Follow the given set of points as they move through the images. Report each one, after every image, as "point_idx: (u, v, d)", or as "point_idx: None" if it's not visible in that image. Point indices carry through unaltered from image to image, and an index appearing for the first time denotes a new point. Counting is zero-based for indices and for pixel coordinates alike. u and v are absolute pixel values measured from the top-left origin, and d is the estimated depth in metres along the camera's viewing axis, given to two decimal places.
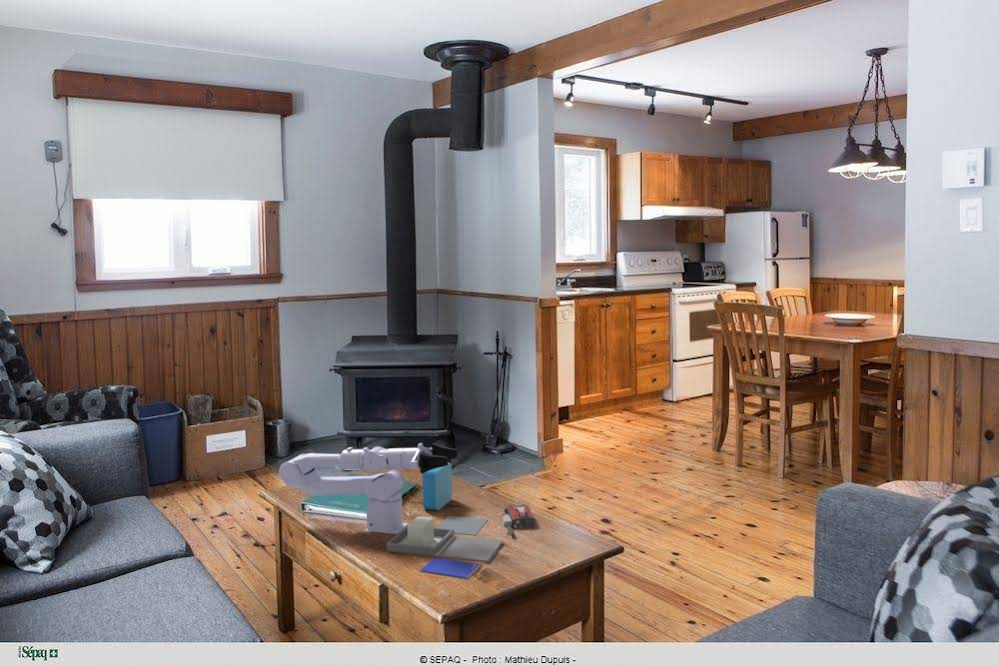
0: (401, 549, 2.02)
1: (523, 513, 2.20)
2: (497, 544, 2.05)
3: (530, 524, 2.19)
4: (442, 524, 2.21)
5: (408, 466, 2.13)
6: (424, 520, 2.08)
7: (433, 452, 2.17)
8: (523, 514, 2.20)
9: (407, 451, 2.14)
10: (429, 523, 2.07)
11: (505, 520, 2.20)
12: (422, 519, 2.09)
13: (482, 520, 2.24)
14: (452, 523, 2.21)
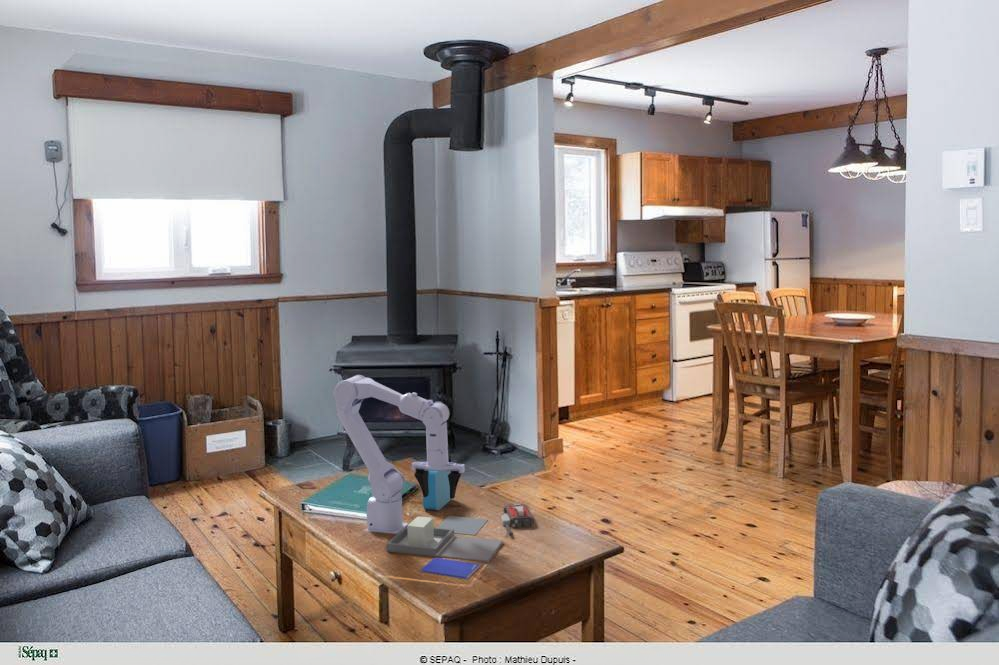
0: (401, 549, 2.02)
1: (522, 512, 2.20)
2: (497, 544, 2.05)
3: (528, 523, 2.19)
4: (442, 524, 2.21)
5: (443, 455, 2.11)
6: (424, 520, 2.08)
7: (425, 471, 2.15)
8: (522, 513, 2.20)
9: None
10: (429, 523, 2.07)
11: (503, 519, 2.20)
12: (422, 519, 2.09)
13: (482, 520, 2.24)
14: (452, 523, 2.21)
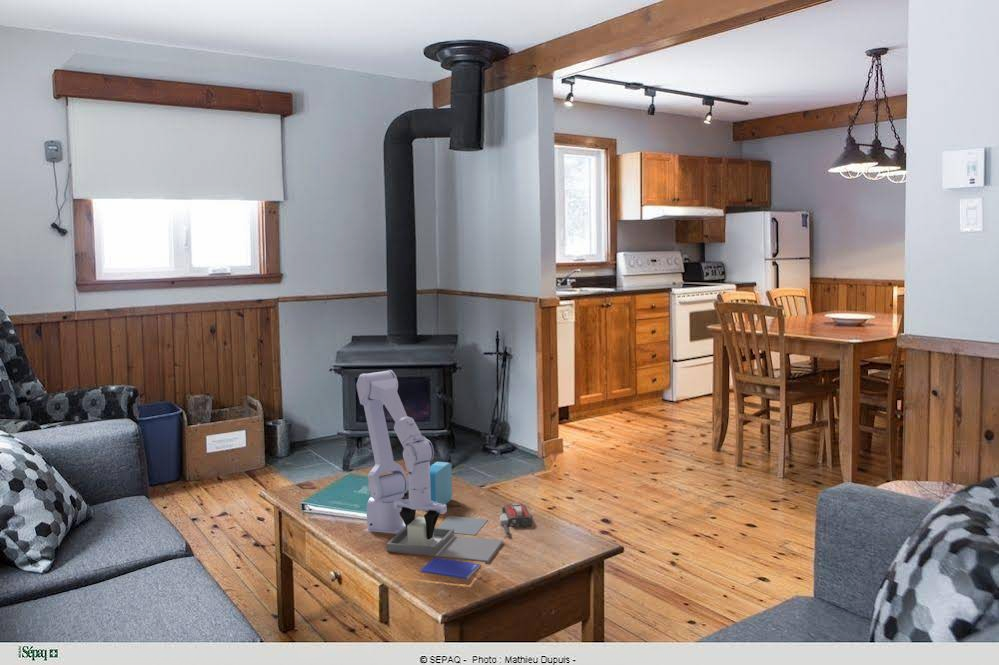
0: (401, 549, 2.02)
1: (520, 512, 2.21)
2: (497, 544, 2.05)
3: (526, 523, 2.19)
4: (442, 524, 2.21)
5: (424, 495, 2.04)
6: (424, 520, 2.08)
7: (412, 509, 2.08)
8: (520, 513, 2.21)
9: None
10: None
11: (502, 519, 2.20)
12: (422, 519, 2.09)
13: (482, 520, 2.24)
14: (452, 523, 2.21)
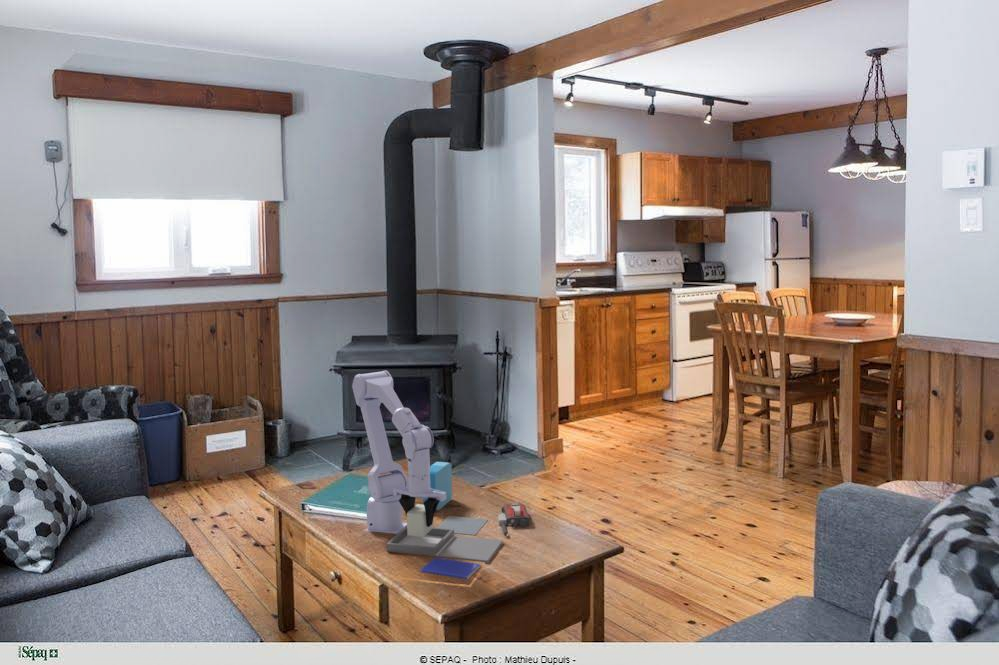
0: (401, 549, 2.02)
1: (518, 512, 2.21)
2: (497, 544, 2.05)
3: (525, 523, 2.19)
4: (442, 524, 2.21)
5: (424, 482, 2.03)
6: (424, 507, 2.08)
7: (411, 497, 2.07)
8: (518, 513, 2.21)
9: None
10: None
11: (500, 519, 2.21)
12: (421, 506, 2.08)
13: (482, 520, 2.24)
14: (452, 523, 2.21)
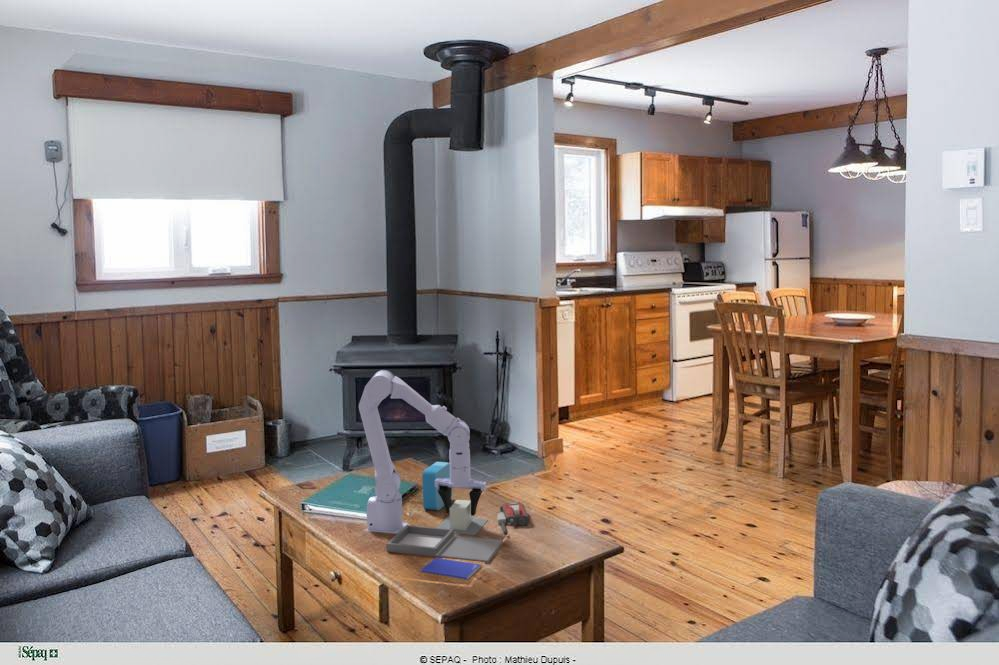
0: (401, 549, 2.02)
1: (517, 511, 2.22)
2: (497, 544, 2.05)
3: (524, 522, 2.20)
4: (442, 524, 2.21)
5: (466, 473, 2.16)
6: (464, 502, 2.21)
7: (449, 488, 2.20)
8: (517, 512, 2.21)
9: None
10: (469, 505, 2.20)
11: (499, 518, 2.21)
12: (461, 501, 2.21)
13: (482, 520, 2.24)
14: None
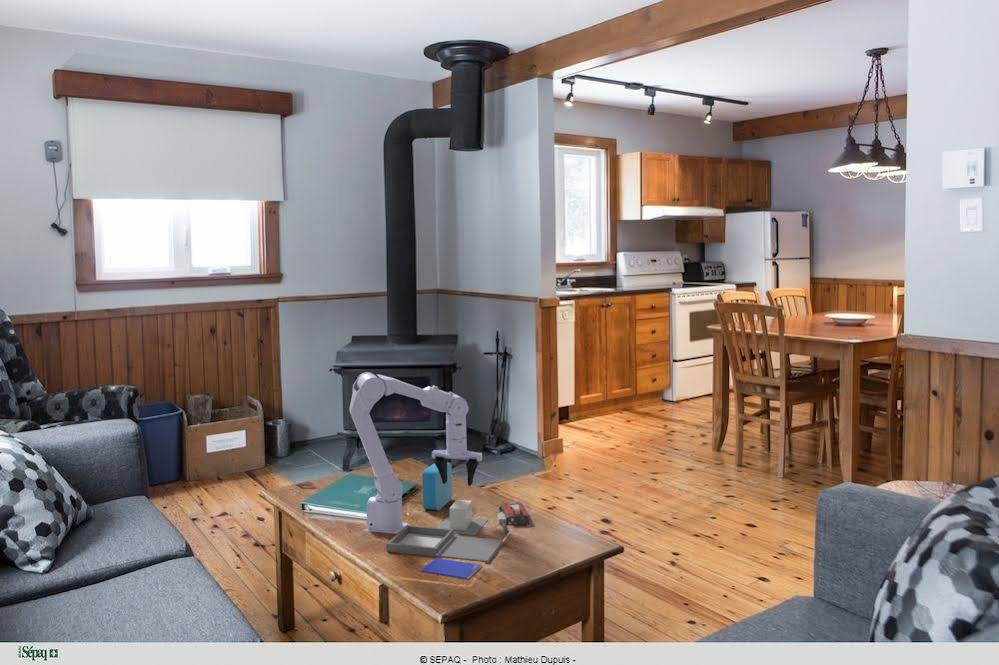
0: (401, 549, 2.02)
1: (518, 511, 2.22)
2: (497, 544, 2.05)
3: (524, 522, 2.21)
4: (442, 524, 2.21)
5: (462, 444, 2.22)
6: (464, 502, 2.21)
7: (445, 459, 2.26)
8: (518, 512, 2.22)
9: None
10: (469, 505, 2.20)
11: (500, 518, 2.21)
12: (461, 501, 2.21)
13: (482, 520, 2.24)
14: None
